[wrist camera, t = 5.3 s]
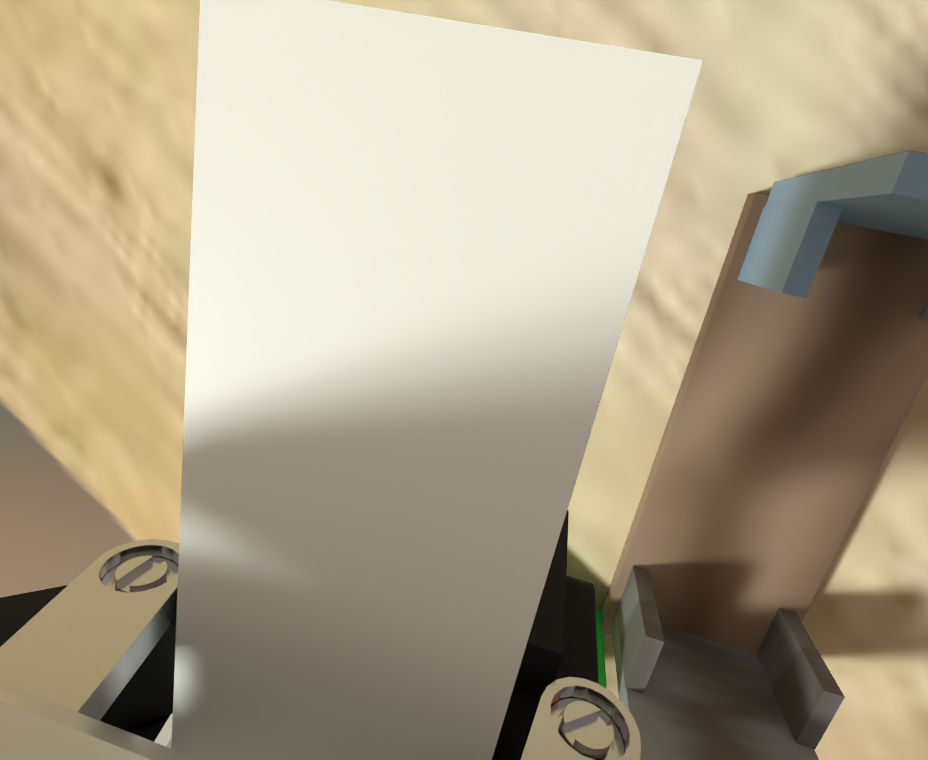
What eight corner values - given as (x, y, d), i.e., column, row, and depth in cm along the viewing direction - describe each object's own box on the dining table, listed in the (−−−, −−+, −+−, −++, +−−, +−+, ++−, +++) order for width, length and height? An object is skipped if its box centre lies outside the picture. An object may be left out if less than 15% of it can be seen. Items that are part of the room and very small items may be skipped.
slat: (627, 164, 9) (702, 60, 4) (454, 786, 14) (373, 1150, 9) (416, 124, 10) (201, -21, 4) (319, 735, 15) (160, 1045, 9)
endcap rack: (976, 238, 21) (1299, 246, 12) (764, 668, 28) (859, 886, 19) (748, 194, 22) (876, 168, 13) (599, 617, 29) (611, 799, 20)
